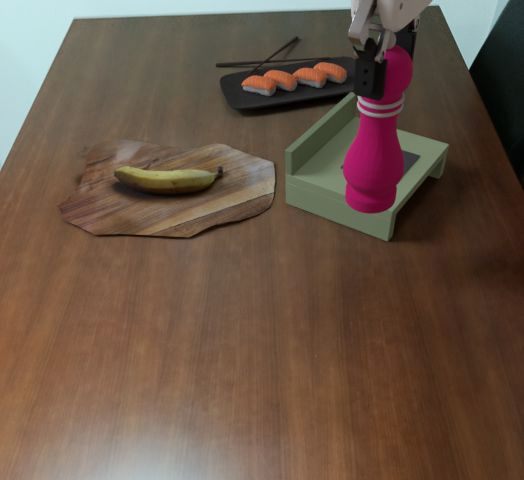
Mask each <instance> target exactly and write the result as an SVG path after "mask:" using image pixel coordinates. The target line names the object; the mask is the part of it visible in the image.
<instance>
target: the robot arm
mask: <svg viewBox="0 0 524 480" xmlns="http://www.w3.org/2000/svg"><path fill="white" fill-rule="evenodd" d="M433 1H434V0H350V17H351V24H350V27H349V29H348V32H347V39H348V40H349V42H350V43H351V45H352V49H353V58H354V59H355V60H356V62H355V76H354V90H353V91H354V94H355V95H357V97H358V96H361V97H365V98H369V99H373V100H376V101H380V100H381V99H382V98H383V97H384V90H385V81H386V73H387V64H388V60H387V59H384V57H385V52H386V48H387V44H388V40H389V36H390V32H393V33H394V34H395V36H396V43H395V45H397V46H400V47H402V48H403V49H404V50H406V52H407V53H408V54H409V56H410V58H411V60H412V64H413V63H414V56H415V50H416V49H415V48H416V43H417V42H416V41H417V37H418V36H417V34H418V32H417V31H418V28H419V27H420V23H421V13H422V12H423V11H424V10H425V9H426V8H427V7H428V6H429V5H431V3H433ZM373 17H379V18H380V22H381V23H379V22H378V23H377V22H373V21H372V20H373ZM370 31H374V32H379V36H380V37H379V36H378V38H379V41H378V40H377V42H376V40H375V38H373V37H371V36H370V33H369V32H370ZM377 44H378V45H377Z"/></svg>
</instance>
